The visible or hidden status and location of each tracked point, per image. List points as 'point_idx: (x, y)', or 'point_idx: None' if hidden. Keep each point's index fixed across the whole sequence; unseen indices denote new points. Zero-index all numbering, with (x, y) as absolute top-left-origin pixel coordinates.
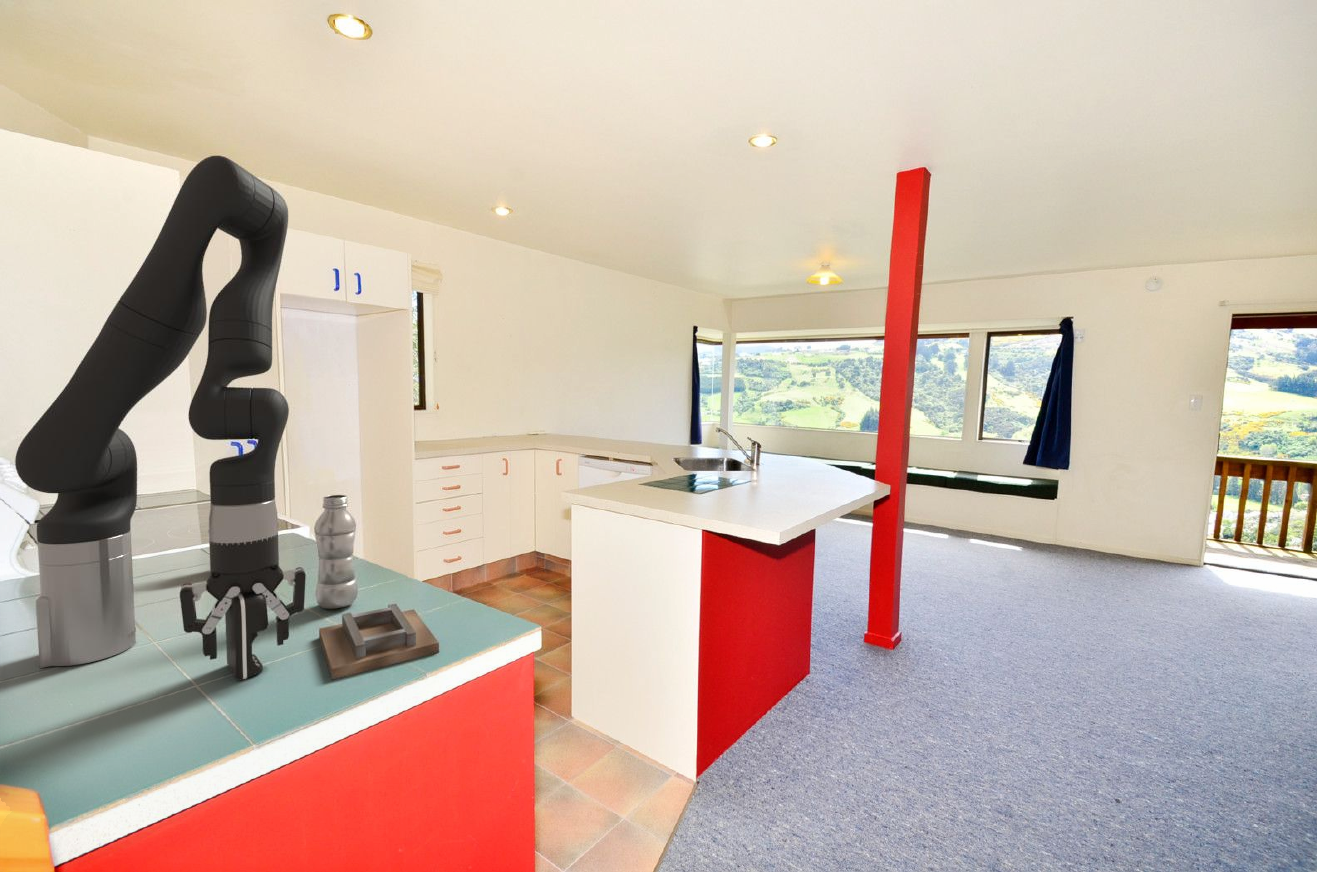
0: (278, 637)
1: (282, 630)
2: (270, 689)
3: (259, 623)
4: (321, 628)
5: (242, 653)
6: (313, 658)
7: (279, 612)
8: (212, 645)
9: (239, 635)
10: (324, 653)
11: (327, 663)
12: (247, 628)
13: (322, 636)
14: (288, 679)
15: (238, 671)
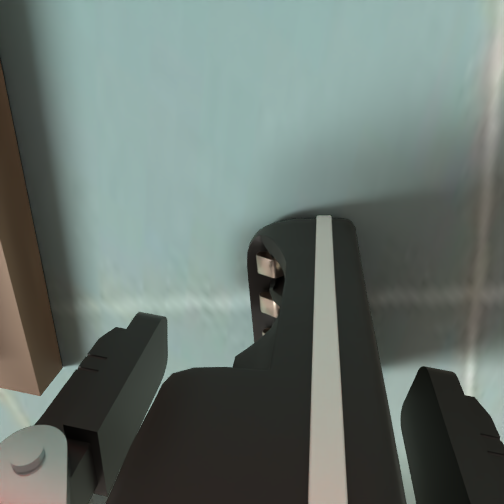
0: (143, 343)
1: (105, 367)
2: (251, 26)
3: (191, 429)
4: (32, 391)
5: (335, 284)
6: (73, 226)
7: (36, 497)
8: (465, 433)
9: (362, 381)
10: (32, 233)
11: (12, 129)
12: (296, 418)
13: (20, 329)
14: (169, 86)
15: (350, 239)
